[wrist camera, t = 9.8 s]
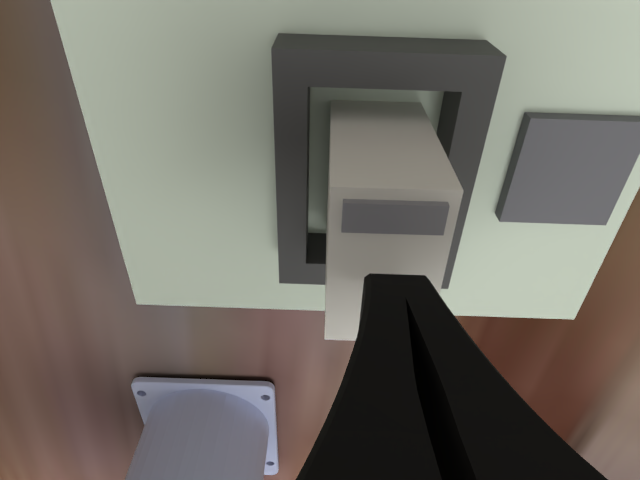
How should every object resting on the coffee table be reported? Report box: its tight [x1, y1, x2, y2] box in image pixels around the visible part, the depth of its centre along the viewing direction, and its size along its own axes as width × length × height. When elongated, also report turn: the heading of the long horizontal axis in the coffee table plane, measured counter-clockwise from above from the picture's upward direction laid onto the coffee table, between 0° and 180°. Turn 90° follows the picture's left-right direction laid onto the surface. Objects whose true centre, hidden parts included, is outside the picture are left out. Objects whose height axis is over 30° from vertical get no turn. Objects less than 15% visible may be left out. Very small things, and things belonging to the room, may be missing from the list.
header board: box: [50, 0, 640, 319], centre depth 16 cm, size 15×20×3 cm
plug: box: [324, 100, 464, 341], centre depth 14 cm, size 5×3×6 cm, turn 179°
